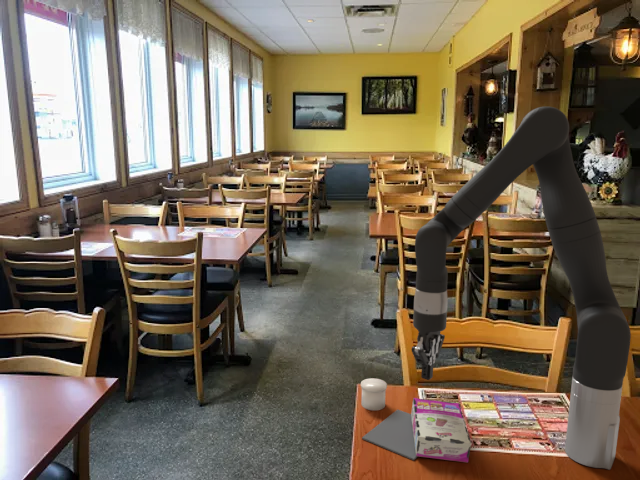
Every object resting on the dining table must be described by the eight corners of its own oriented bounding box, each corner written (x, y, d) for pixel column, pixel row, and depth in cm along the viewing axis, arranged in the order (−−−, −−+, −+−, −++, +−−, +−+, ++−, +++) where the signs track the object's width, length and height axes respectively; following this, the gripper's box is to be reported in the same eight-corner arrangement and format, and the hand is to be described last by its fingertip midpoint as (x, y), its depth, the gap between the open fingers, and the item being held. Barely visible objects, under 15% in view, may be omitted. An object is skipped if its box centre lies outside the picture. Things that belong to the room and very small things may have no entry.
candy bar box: (410, 416, 125) (414, 457, 110) (412, 397, 124) (417, 435, 108) (457, 421, 124) (468, 464, 108) (460, 402, 123) (471, 442, 107)
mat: (446, 428, 122) (446, 426, 122) (413, 460, 109) (414, 458, 109) (397, 410, 129) (397, 409, 129) (362, 439, 117) (362, 437, 117)
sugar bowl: (391, 403, 133) (391, 383, 132) (377, 413, 128) (378, 392, 127) (369, 395, 137) (369, 376, 136) (355, 405, 132) (355, 385, 131)
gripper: (432, 318, 112) (428, 393, 116) (457, 304, 123) (453, 372, 126) (401, 311, 117) (399, 383, 120) (428, 298, 127) (425, 364, 130)
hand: (427, 378), depth 123 cm, fingers closed
